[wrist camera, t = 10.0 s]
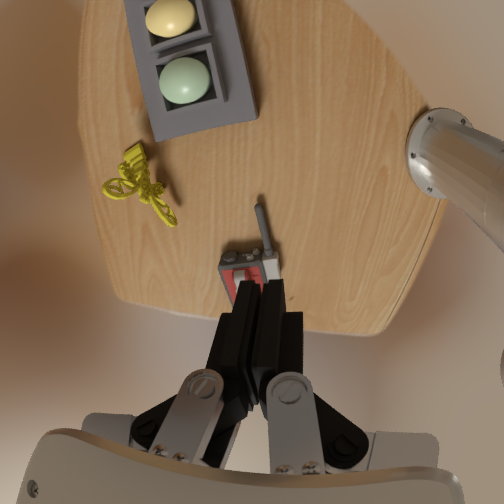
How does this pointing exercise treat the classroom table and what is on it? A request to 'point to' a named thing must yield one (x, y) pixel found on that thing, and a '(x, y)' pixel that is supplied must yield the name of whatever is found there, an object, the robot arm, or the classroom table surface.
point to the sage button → (185, 80)
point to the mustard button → (171, 18)
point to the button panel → (200, 48)
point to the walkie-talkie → (250, 262)
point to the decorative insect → (139, 183)
